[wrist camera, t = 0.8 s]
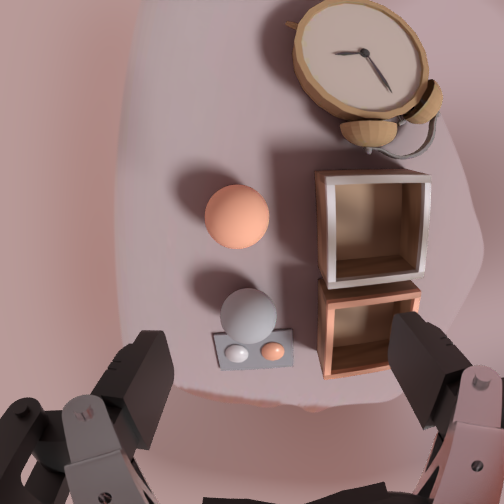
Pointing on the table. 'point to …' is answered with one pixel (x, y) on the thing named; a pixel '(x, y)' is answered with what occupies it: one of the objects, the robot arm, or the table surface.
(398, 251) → the grey-band box
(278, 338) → the card
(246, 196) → the terracotta ball
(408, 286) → the terracotta-rimmed square box
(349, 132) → the alarm clock
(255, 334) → the grey ball
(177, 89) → the table surface
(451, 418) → the robot arm
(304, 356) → the table surface
